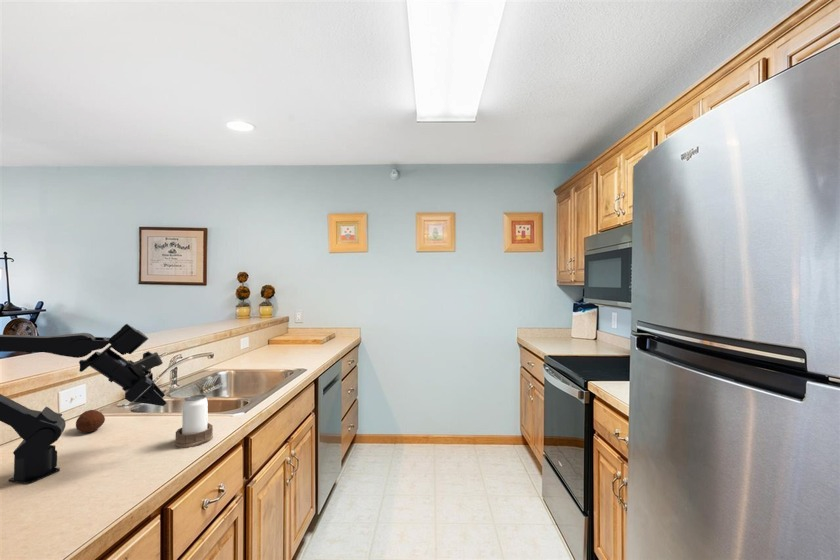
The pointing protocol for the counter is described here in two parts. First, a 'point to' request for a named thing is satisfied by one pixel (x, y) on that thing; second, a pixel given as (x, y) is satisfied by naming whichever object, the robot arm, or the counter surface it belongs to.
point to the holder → (193, 437)
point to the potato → (90, 421)
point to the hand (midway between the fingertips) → (164, 400)
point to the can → (194, 414)
